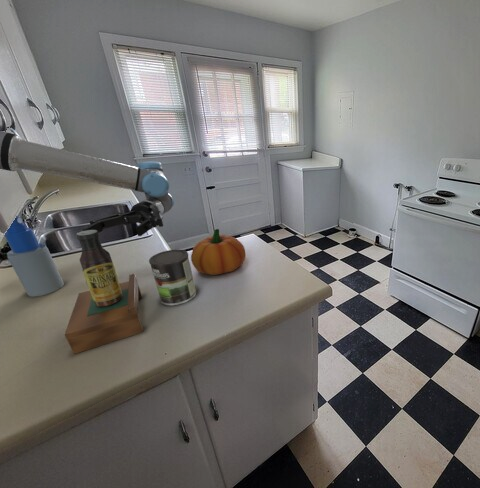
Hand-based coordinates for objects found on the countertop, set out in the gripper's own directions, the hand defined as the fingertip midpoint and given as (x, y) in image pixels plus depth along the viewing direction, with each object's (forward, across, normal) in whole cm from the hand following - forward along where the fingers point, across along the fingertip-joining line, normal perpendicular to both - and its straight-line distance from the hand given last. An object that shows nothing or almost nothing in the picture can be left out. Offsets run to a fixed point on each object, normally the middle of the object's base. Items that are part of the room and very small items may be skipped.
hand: (112, 232), depth 76 cm
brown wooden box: (+10, +1, -22) cm, 24 cm away
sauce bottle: (+10, 0, -16) cm, 19 cm away
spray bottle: (-10, +32, -23) cm, 41 cm away
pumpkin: (-18, -22, -22) cm, 37 cm away
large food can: (0, -13, -22) cm, 26 cm away
